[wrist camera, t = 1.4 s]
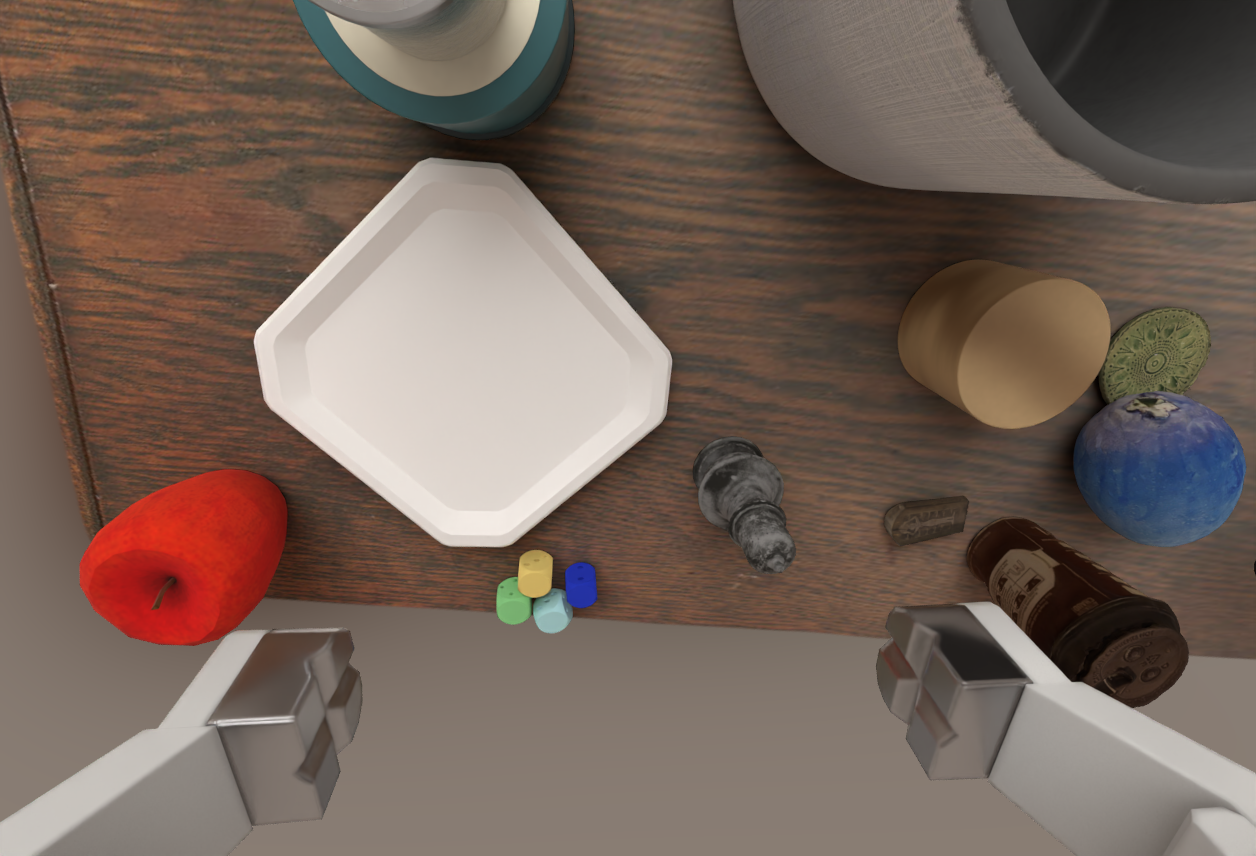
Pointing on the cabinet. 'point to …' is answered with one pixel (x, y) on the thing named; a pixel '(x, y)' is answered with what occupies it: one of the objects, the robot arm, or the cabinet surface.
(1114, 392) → the medallion
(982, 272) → the stand
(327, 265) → the plate
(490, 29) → the silver cup
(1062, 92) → the planter
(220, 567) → the apple
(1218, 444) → the blue oval fruit
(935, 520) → the block
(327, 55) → the teal cylindrical knob
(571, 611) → the dice
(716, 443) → the salt shaker
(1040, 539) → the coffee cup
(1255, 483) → the cabinet surface
